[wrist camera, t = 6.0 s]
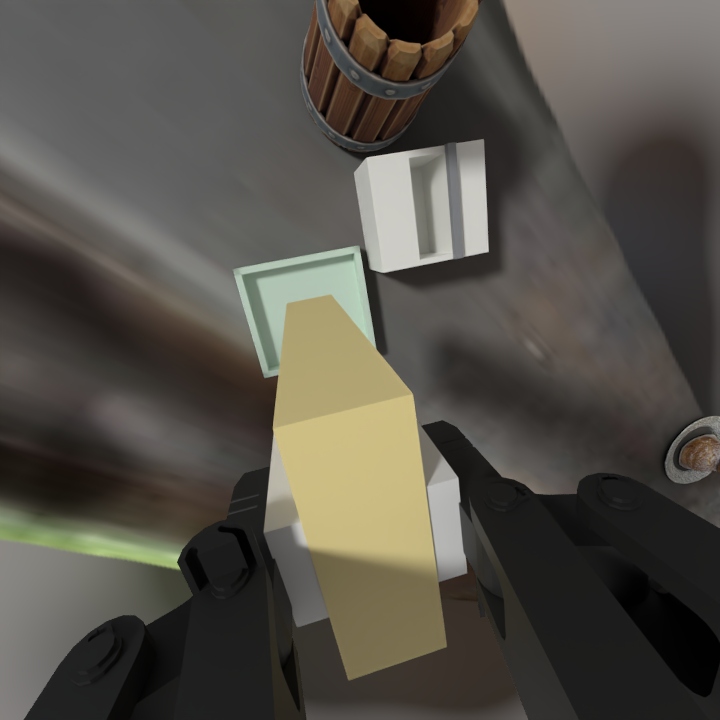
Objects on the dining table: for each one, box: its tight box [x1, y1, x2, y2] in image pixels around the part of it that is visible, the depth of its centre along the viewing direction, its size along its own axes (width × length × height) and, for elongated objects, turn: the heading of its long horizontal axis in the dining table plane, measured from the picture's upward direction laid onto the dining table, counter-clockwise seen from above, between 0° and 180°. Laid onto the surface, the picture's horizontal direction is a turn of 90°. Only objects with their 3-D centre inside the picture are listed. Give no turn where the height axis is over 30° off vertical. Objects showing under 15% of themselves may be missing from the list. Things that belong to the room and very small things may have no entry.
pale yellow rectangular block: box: [273, 294, 447, 680], centre depth 14 cm, size 2×7×14 cm, turn 10°
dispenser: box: [354, 139, 489, 273], centre depth 32 cm, size 10×9×7 cm
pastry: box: [665, 416, 720, 484], centre depth 52 cm, size 12×12×5 cm
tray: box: [233, 246, 376, 378], centre depth 35 cm, size 12×11×2 cm
